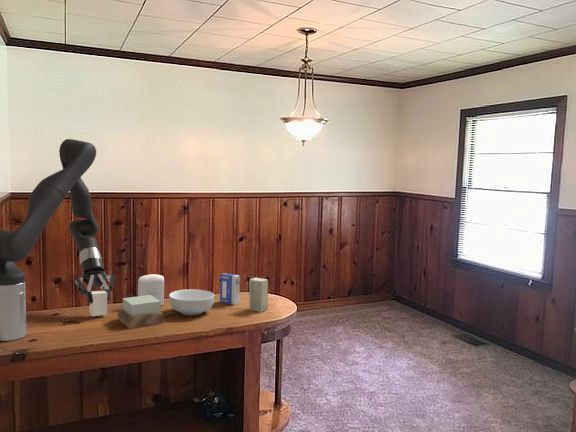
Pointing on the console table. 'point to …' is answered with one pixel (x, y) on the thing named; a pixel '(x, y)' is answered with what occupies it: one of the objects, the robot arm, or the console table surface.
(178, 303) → the cereal bowl
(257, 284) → the skincare box
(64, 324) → the console table surface
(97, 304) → the cream block
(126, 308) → the tower top
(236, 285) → the walkman
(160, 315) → the tower base
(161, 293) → the photo printer
